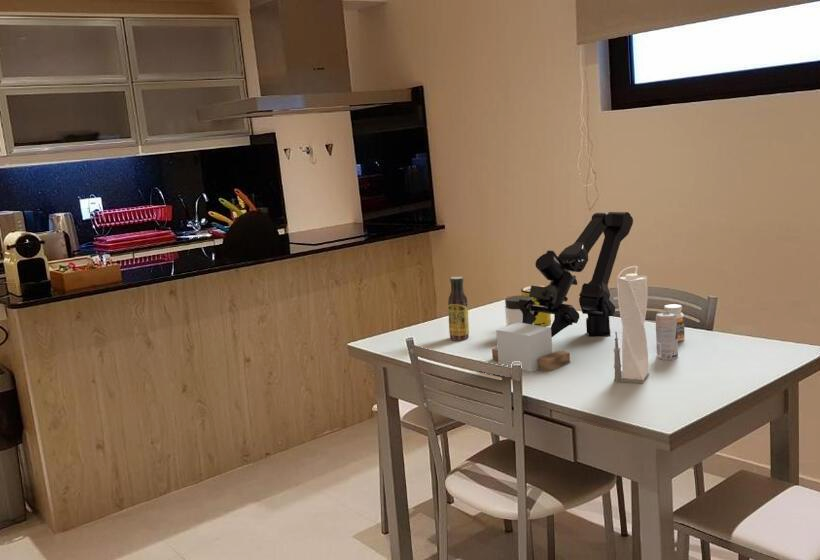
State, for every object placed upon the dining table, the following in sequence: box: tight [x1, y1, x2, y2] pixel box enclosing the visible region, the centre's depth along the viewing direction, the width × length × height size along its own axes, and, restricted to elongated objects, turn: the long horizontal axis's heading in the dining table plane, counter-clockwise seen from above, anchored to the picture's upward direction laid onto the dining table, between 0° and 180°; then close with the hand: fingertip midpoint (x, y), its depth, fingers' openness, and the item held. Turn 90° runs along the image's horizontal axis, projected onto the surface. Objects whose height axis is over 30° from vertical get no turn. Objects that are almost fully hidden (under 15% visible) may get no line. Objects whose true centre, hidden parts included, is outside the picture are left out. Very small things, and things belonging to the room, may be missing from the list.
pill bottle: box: [663, 303, 685, 342], centre depth 217 cm, size 6×6×10 cm
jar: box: [504, 294, 534, 326], centre depth 237 cm, size 9×8×12 cm
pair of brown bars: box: [491, 346, 571, 373], centre depth 211 cm, size 9×20×3 cm, turn 40°
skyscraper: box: [613, 265, 650, 385], centre depth 188 cm, size 8×8×28 cm
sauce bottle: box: [447, 276, 470, 341], centre depth 239 cm, size 6×6×20 cm
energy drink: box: [655, 311, 679, 361], centre depth 202 cm, size 5×5×12 cm
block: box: [495, 322, 554, 372], centre depth 209 cm, size 9×12×10 cm
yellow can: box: [520, 285, 552, 327], centre depth 248 cm, size 9×9×12 cm
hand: (535, 335), depth 212 cm, fingers open, 9 cm apart
